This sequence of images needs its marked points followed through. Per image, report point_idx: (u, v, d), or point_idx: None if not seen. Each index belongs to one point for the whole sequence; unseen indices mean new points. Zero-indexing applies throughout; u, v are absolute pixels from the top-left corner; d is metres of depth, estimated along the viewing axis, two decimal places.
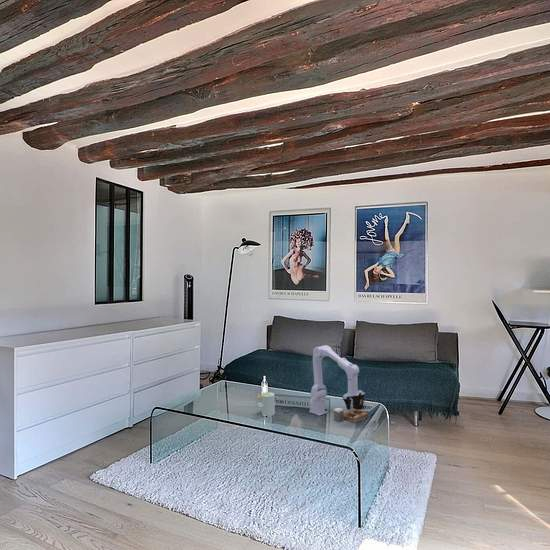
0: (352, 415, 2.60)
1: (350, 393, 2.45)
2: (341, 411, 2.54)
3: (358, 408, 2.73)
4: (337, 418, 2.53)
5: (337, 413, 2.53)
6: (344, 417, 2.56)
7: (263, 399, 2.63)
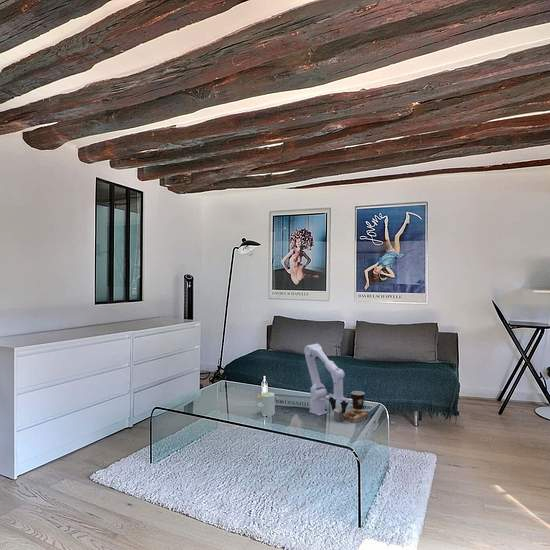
0: (352, 415, 2.60)
1: None
2: (341, 411, 2.54)
3: (358, 408, 2.73)
4: (337, 418, 2.53)
5: (337, 413, 2.53)
6: (344, 417, 2.56)
7: (263, 399, 2.63)
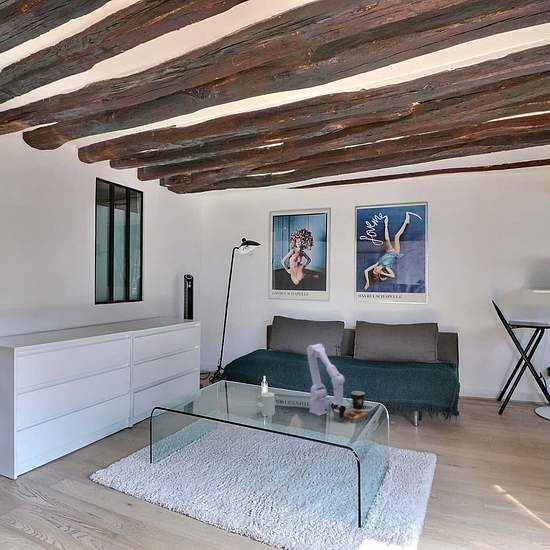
0: (352, 415, 2.60)
1: None
2: None
3: (358, 408, 2.73)
4: (337, 418, 2.53)
5: (337, 413, 2.53)
6: (344, 417, 2.56)
7: (263, 399, 2.63)
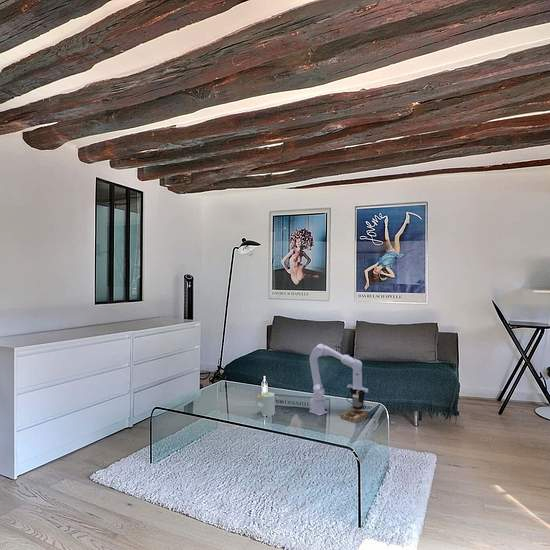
0: (352, 415, 2.60)
1: None
2: None
3: (358, 408, 2.73)
4: (356, 403, 2.59)
5: (356, 399, 2.59)
6: (344, 417, 2.56)
7: (263, 399, 2.63)
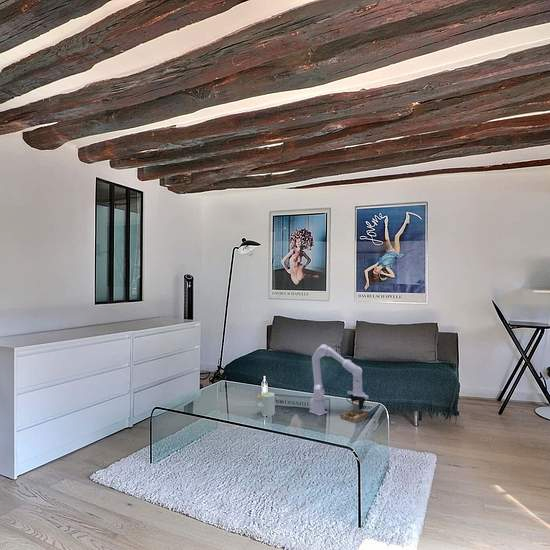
0: (352, 415, 2.60)
1: None
2: None
3: None
4: (356, 410, 2.59)
5: (356, 405, 2.59)
6: (344, 417, 2.56)
7: (263, 399, 2.63)
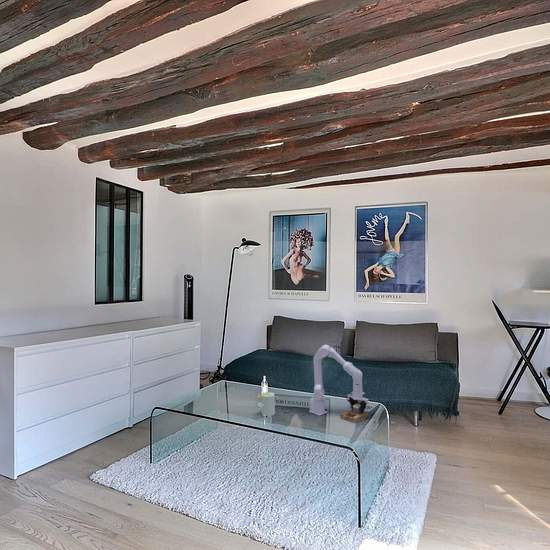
0: (352, 415, 2.60)
1: None
2: (360, 407, 2.60)
3: None
4: None
5: (356, 409, 2.59)
6: (344, 417, 2.56)
7: (263, 399, 2.63)
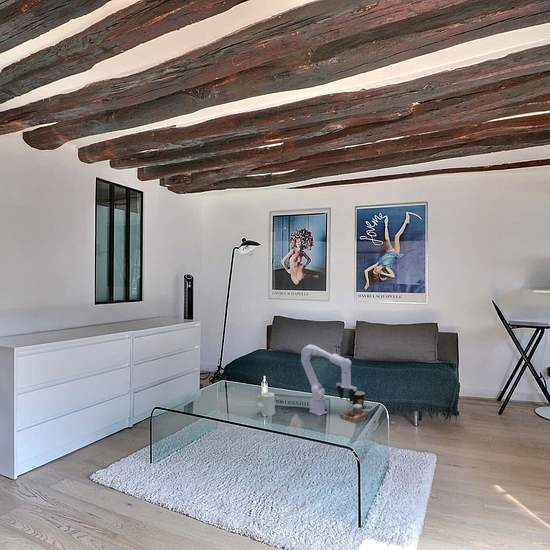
0: (352, 415, 2.60)
1: None
2: (360, 407, 2.60)
3: None
4: None
5: (356, 409, 2.59)
6: (344, 417, 2.56)
7: (263, 399, 2.63)
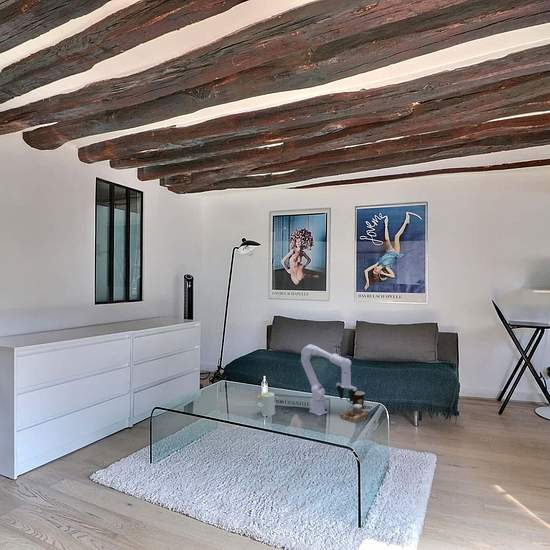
0: (352, 415, 2.60)
1: None
2: (360, 407, 2.60)
3: None
4: None
5: (356, 409, 2.59)
6: (344, 417, 2.56)
7: (263, 399, 2.63)
